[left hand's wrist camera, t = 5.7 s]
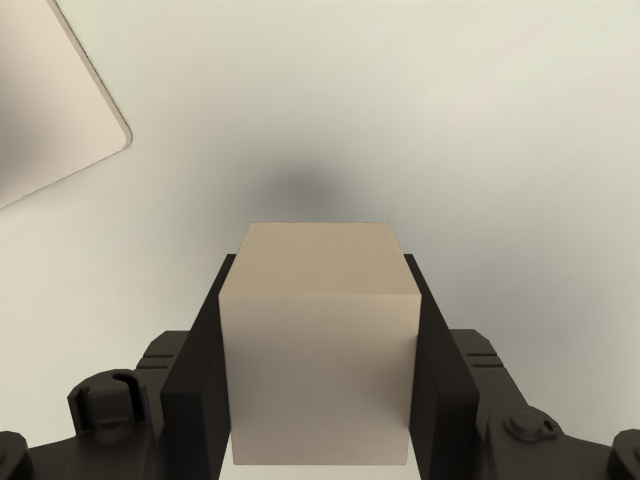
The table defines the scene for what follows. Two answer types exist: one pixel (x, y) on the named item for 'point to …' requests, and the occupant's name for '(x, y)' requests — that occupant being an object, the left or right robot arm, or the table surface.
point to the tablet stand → (49, 102)
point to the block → (319, 344)
